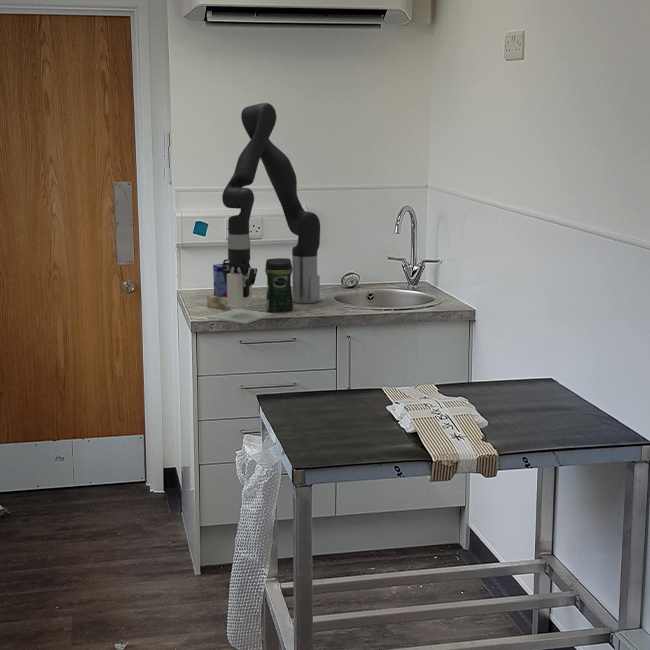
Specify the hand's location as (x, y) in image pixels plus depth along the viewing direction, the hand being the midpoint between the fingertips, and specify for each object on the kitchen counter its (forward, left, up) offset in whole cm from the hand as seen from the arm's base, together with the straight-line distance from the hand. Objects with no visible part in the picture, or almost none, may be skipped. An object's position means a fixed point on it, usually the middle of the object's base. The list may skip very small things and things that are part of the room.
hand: (239, 296), depth 324 cm
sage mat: (0, 0, -7) cm, 7 cm away
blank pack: (0, 0, -3) cm, 3 cm away
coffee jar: (-5, -16, -7) cm, 18 cm away
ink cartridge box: (+26, -26, -7) cm, 37 cm away
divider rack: (+15, -13, -7) cm, 21 cm away
